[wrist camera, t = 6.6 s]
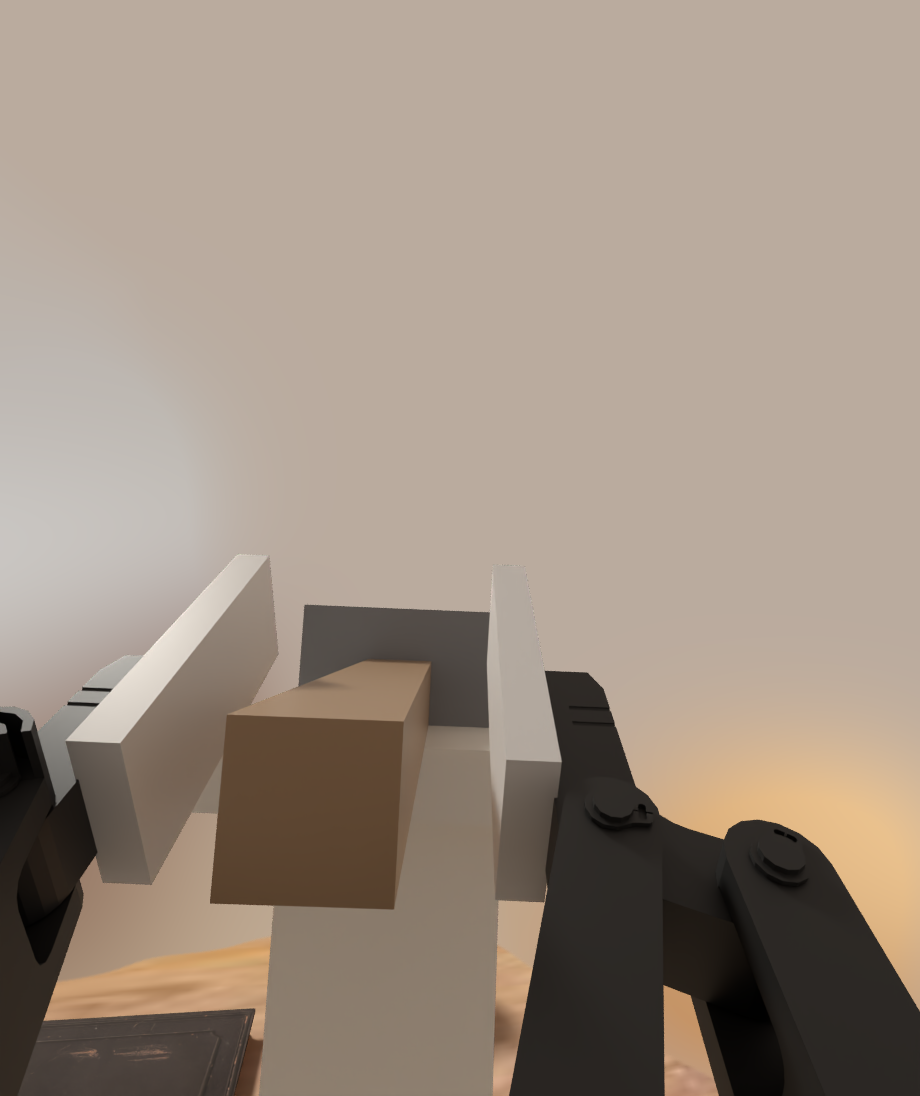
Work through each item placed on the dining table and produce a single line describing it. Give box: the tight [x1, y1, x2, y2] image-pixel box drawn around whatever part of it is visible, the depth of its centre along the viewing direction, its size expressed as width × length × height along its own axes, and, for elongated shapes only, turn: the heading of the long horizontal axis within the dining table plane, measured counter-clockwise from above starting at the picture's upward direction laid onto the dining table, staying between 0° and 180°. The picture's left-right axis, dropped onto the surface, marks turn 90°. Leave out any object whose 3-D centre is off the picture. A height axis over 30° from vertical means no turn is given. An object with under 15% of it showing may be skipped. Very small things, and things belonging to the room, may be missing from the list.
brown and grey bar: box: [210, 605, 490, 910], centre depth 18 cm, size 22×7×4 cm, turn 1°
